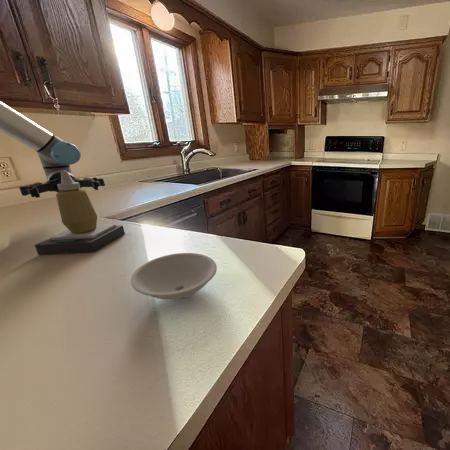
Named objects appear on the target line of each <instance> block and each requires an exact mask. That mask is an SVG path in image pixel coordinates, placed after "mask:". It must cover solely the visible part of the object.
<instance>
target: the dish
mask: <svg viewBox="0 0 450 450" xmlns="http://www.w3.org/2000/svg"><path fill="white" fill-rule="evenodd" d="M217 266H218V265H217V263H216V262H215V260H214V259H212V258H211V257H209V256H208V255H205V254H202V253H196V252H179V253H171V254H166V255H162V256H159V257H155V258H154V259H151V260H148V261H146V262H145V263H144V264H143V263H142V265H140V266H139V267H137V269H135V270H134V272H133V273H132V274H131V277H130V285H131V287H132V288H133V289H134V290H135V292H137V293H139V294H142V295H145V296H149V297H151V298H156V299H159V300H165V301H166V300H167V301H171V300H173V301H174V300H180V299H184V298H187V297H190V296H192V295H194V294H196V293H197V292H199V291H200V290H201V289H203V288H204V287H205V286H206V285H207V284H208V283H209V282H211V280H212V279H213V278H214V277H215V276H216V273H217V270H218V267H217Z"/></svg>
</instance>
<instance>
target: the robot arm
mask: <svg viewBox="0 0 450 450" xmlns="http://www.w3.org/2000/svg"><path fill="white" fill-rule="evenodd" d="M0 132H1V133H3V134H5V135H6V136H8V137H10V138H11V139H14V140H15V141H17V142H19V143H21V144H23V145H24V146H26V147H28V148H30V149H31V150H34V151H35V152H36V154H37V156H38V158H39V161H40V164H41V165H42V169H43V172H44V175H45V177H46V180H47V181H46V182H44V183H43V182H40V181H37V182H34V183H31V184H26V185H22V186H19V187H18V189H19V191H20V194H21V196H24V197H26V196H29V195H30V196H31V198H36V199H38V198H41V195H40V194H43V193H47V192H52V193H53V192H56V193H58V192H60V190H59V189H58V186H57V185H58V184H61V171H62V170H66V171H67V172H68V174H69V175H70V177H71V178H72V180H73V182H78V183H79V185H80V188H79V189H82V188H92V189H93V190H95V191H99V187H105V186H106V184H105V183H106V182H105V180H104V178H102V177H101V178H98V177H84V178H82V179H80V178H79V177H75V176H74V174H73V171H72V168H71V166H72V165H74V164H77V163H78V162H79V161H80V160H81V156H82V154H81V151H80V149H79V148H78V147H77V146H76V145H75V144H73V143H71V142H68V141H64V140H63V139H61V138H60V137H59V136H57V135H55V134H53V133H52V132H50V131H49V130H47V129H45V128H44V127H42V126H41V125H39V124H38V123H36V122H34V121H33V120H31V119H30V118H28V117H27V116H25V115H24V114H22V113H20V112H19V111H17V110H16V109H14V108H12V107H11V106H9V105H7V104H6V103H5V102H3V101H1V100H0Z"/></svg>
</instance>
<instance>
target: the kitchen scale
mask: <svg viewBox="0 0 450 450" xmlns="http://www.w3.org/2000/svg"><path fill="white" fill-rule="evenodd" d="M125 234H126V232H125V228H124V225H117V224H116V223H114V224H113V223H112V224H111V223H110V224H97V225H96V229H94V230H91V231H88V232H84V233H71V232H70V231H69V230H68V229H66V230H65V231H62V232H59V233H57V234H55V235H52V236H50V237H49V238H47V239H45V240H43V241H41V242H38V243H36V244H34V246H33V247H34V248H35V251H36V253H37V255H38V256H41V255H42V256H43V255H63V254H64V255H65V254H85V253H96V252H97V251H99V250H100V249H102V248H103V247H106V246H107V245H109V244H111V243H112V242H114V241H116V240H118V239H119V238H121V237H122V236H124V235H125Z"/></svg>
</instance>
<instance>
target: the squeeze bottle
mask: <svg viewBox="0 0 450 450" xmlns="http://www.w3.org/2000/svg"><path fill="white" fill-rule="evenodd" d="M57 186H58V189H59V190H60V192H56V194H55V196H56V197H55V198H56V201H57V205H58V210H59V215H60V219H61V223H62V225H63V226H65V227H66V228H67V230H69V231H70V232H71V233H84V232H88V231H91V230H94V229H96V225H98V214H97V212H96V209H95V207H94V206H93V203H92V201H91V200H90V197H89V195H88V193H87V191H86V190H85V189H82V188H80V185H79V183H78V182H73V180H72V178H71V177H70V175H69V174H68V172H67V171H66V170H62V171H61V184H58V185H57Z"/></svg>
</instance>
